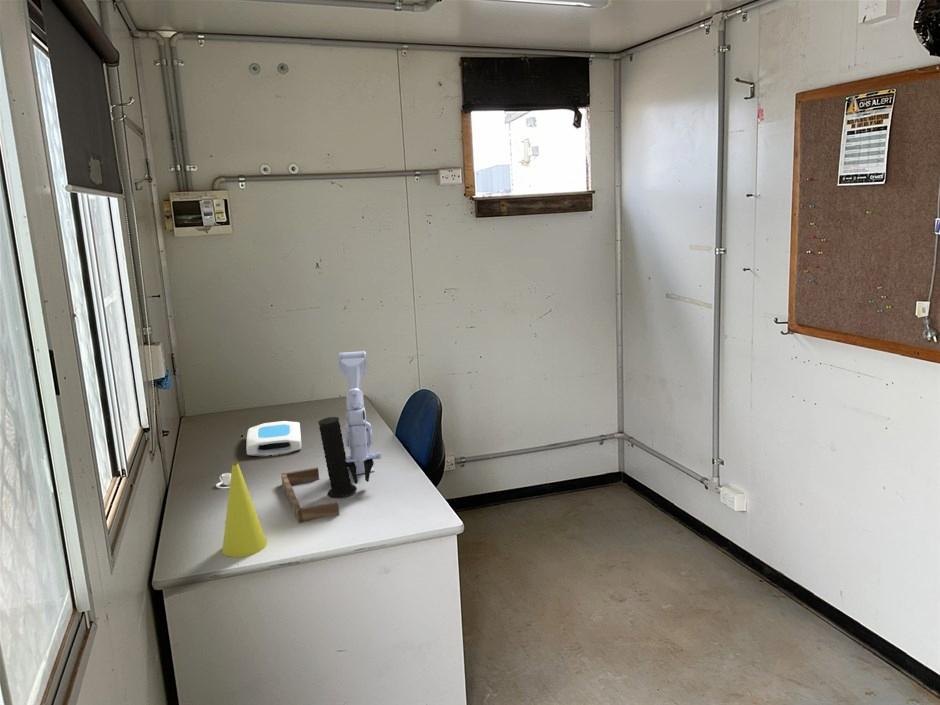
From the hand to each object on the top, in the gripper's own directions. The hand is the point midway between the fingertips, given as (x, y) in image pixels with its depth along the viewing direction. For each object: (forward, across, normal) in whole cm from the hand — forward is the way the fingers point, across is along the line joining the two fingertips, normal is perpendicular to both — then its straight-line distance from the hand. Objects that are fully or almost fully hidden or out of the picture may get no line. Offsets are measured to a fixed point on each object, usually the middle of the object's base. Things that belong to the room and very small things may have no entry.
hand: (361, 481), depth 244 cm
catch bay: (+2, -18, 0) cm, 18 cm away
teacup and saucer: (+3, -42, +25) cm, 49 cm away
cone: (+3, -41, -27) cm, 49 cm away
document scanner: (+3, -20, +66) cm, 69 cm away
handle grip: (+2, -7, 0) cm, 7 cm away
